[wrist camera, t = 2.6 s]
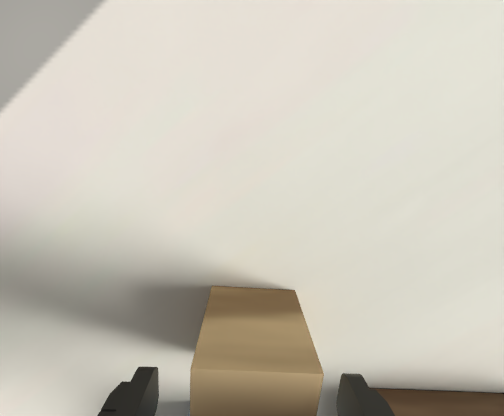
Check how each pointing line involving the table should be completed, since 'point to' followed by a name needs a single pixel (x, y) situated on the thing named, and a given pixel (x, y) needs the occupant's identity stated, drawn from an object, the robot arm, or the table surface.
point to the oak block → (254, 356)
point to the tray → (443, 403)
